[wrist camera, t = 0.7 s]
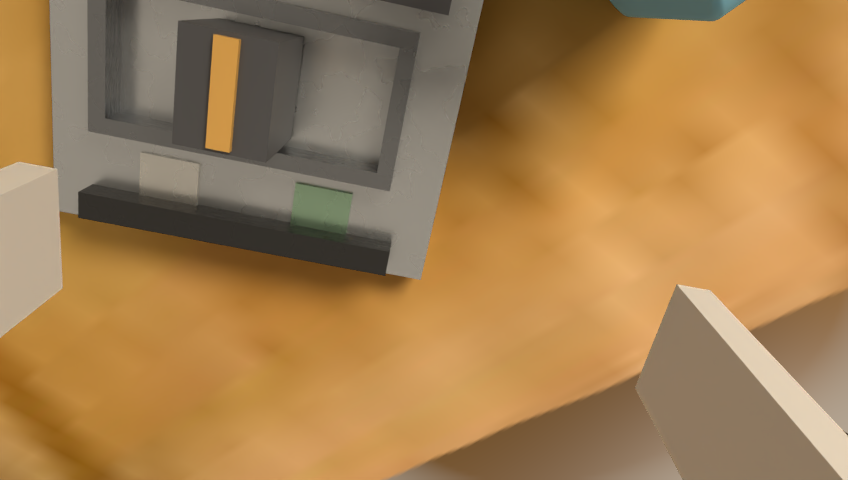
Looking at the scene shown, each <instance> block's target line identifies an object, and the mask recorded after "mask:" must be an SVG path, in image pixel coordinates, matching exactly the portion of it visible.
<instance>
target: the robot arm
mask: <svg viewBox="0 0 848 480" xmlns="http://www.w3.org/2000/svg"><path fill="white" fill-rule="evenodd" d="M62 288H63V286H62V262H61V239H60V216H59V192H58V169H55V168H50V167H45V166H39V165H34V164H29V163H23V162H17V163H14V164H12V165H9V166H7V167H4V168H2V169H0V337H2V336H3V335H4V334H5V333H7V332H8V331H9V330H10V329H12V328H13V327H14V326H16V325H17V324H18V323H19V322H21V321H22V320H23V319H24V318H26V317H27V316H28V315H29V314H31V313H32V312H33V311H34V310H36V309H37V308H38V307H40V306H41V305H42V304H43V303H45V302H46V301H47V300H48V299H50V298H51V297H52V296H53V295H55V294H56V293H57V292H58V291H60V290H61V289H62ZM635 389H636V391H637V392H638V395H639V396H640V398H641V400H642V402H643V404H644V406H645V408H646V410H647V412H648V414H649V416H650V418H651V419H652V422H653V423H654V425H655V427H656V429H657V431H658V433H659V435H660V437H661V439H662V441H663V442H664V445H665V446H666V448H667V450H668V452H669V454H670V456H671V458H672V460H673V462H674V464H675V466H676V468H677V470H678V472H679V473H680V475H681V477H682V479H683V480H848V434H847V433H846V432H844V431H843V430H842V429H841V428H840V427H839V426H838V425H837V424H836V423H835V422H834V421H833V420H832V418H830V416H829V415H828V414H827V413H826V412H825V411H824V410H823V409H822V408H821V407H820V406H819V405H818V404H817V403H816V402H815V401H814V399H813V398H811V396H810V395H809V394H808V393H807V392H806V391H805V390H804V389H803V388H802V387H801V386H800V385H799V384H798V383H797V381H796V380H794V378H793V377H792V376H791V375H790V374H789V373H788V372H787V371H786V370H785V369H784V368H783V367H782V366H781V365H780V364H779V362H778V361H777V360H776V359H775V358H774V357H773V356H772V355H771V354H770V353H769V352H768V351H767V350H766V349H765V348H764V347H763V346H762V345H761V344H760V342H759V341H758V340H757V339H756V338H755V337H754V336H753V335H752V334H751V333H750V332H749V331H748V330H747V329H746V328H745V327H744V326H743V324H742V323H741V322H740V321H739V320H738V319H737V318H736V317H735V316H734V315H733V314H732V313H731V312H730V311H729V310H728V309H727V308H726V306H725V305H724V304H723V303H722V302H721V301H720V300H719V299H718V298H717V297H716V296H715V295H714V294H713V293H712V292H711V291H710V290H705V289H700V288H694V287H689V286H683V285H678V284H677V285H676V287H675V290H674V292H673V295H672V297H671V300H670V302H669V305H668V307H667V310H666V312H665V315H664V317H663V320H662V322H661V324H660V327H659V329H658V332H657V334H656V337H655V339H654V342H653V344H652V347H651V349H650V352H649V354H648V357H647V359H646V362H645V364H644V367H643V369H642V372H641V374H640V377H639V379H638V382H637V384H636V387H635Z"/></svg>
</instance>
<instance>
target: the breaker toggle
mask: <svg viewBox="0 0 848 480" xmlns="http://www.w3.org/2000/svg"><path fill="white" fill-rule="evenodd" d="M303 41H304V36H300V35H296V34H291V33H286V32H282V31H277V30H272V29H268V28H263V27H259V26H254V25H249V24H245V23H240V22H235V21H231V20H226V19H221V18H214V19H196V20H179V21H178V31H177V51H176V71H175V92H174V112H173V132H172V144H175V145H180V146H185V147H190V148H195V149H200V150H205V151H210V152H215V153H220V154H225V155H230V156H235V157H240V158H245V159H250V160H255V161H260V162H265V163H266V162H267V161H268V160H269V159H270V158H272V157H273V156H274V155H275V154H276V153H277V152H278V151H279V150H280V149H281V148H282V147H283V146H284V145H285V144H286V143H287V142H288V141H289V140H290V139H291V137H292V129H293V121H294V113H295V105H296V97H297V89H298V81H299V73H300V65H301V57H302V49H303Z"/></svg>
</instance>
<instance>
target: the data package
mask: <svg viewBox="0 0 848 480" xmlns="http://www.w3.org/2000/svg"><path fill="white" fill-rule="evenodd" d="M744 1H745V0H610V2H611V3H612V4H613V5H614V7H615V8H616V9H617V10H618V11H619V12H621V13H622V14H623V15H625V16H627V17H640V18H659V19H678V20H698V21H715V20H718V19H720V18H721V17H723V16H724V15H726V14H727V13H728V12H730V11H731V10H733V9H734V8H735V7H737V6H738V5H740V4H741V3H742V2H744Z"/></svg>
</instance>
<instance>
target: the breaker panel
mask: <svg viewBox="0 0 848 480" xmlns="http://www.w3.org/2000/svg"><path fill="white" fill-rule="evenodd" d="M49 1H50V40H51V80H52V119H53V159H54V168H55V169H58V192H59V211H61V212H66V213H72V214H77V215H78V218H83V219H89V220H94V221H99V222H104V223H110V224H115V225H120V226H125V227H131V228H136V229H141V230H147V231H152V232H157V233H162V234H168V235H173V236H178V237H183V238H189V239H194V240H199V241H204V242H210V243H215V244H220V245H226V246H231V247H236V248H241V249H247V250H252V251H257V252H262V253H268V254H273V255H278V256H284V257H289V258H294V259H299V260H305V261H310V262H315V263H320V264H326V265H331V266H336V267H342V268H347V269H352V270H357V271H363V272H368V273H373V274H378V275H384V276H385V274H386V273H387V274H393V275H398V276H403V277H408V278H414V279H419V280H421V275H422V271H423V266H424V262H425V258H426V253H427V249H428V244H429V240H430V235H431V231H432V227H433V222H434V218H435V213H436V209H437V204H438V200H439V195H440V191H441V187H442V182H443V178H444V173H445V169H446V164H447V160H448V156H449V151H450V147H451V142H452V138H453V133H454V129H455V125H456V120H457V116H458V111H459V107H460V102H461V98H462V94H463V89H464V85H465V80H466V76H467V71H468V67H469V63H470V58H471V54H472V49H473V45H474V40H475V36H476V32H477V27H478V23H479V18H480V14H481V9H482V5H483V1H484V0H49ZM214 18H221V19H226V20H231V21H235V22H240V23H245V24H249V25H254V26H259V27H263V28H268V29H272V30H277V31H282V32H286V33H291V34H296V35H300V36H304V41H303V49H302V57H301V65H300V73H299V81H298V89H297V97H296V105H295V113H294V121H293V129H292V137H291V139H290V140H289V141H288V142H287V143H286V144H285V145H284V146H283V147H282V148H281V149H280V150H279V151H278V152H277V153H276V154H275V155H274V156H273V157H272V158H270V159H269V160H268V161H267V162H266V163H265V162H260V161H255V160H250V159H245V158H240V157H235V156H230V155H225V154H220V153H215V152H210V151H205V150H200V149H195V148H190V147H185V146H180V145H175V144H172V132H173V112H174V92H175V71H176V51H177V31H178V21H179V20H196V19H214Z"/></svg>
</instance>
